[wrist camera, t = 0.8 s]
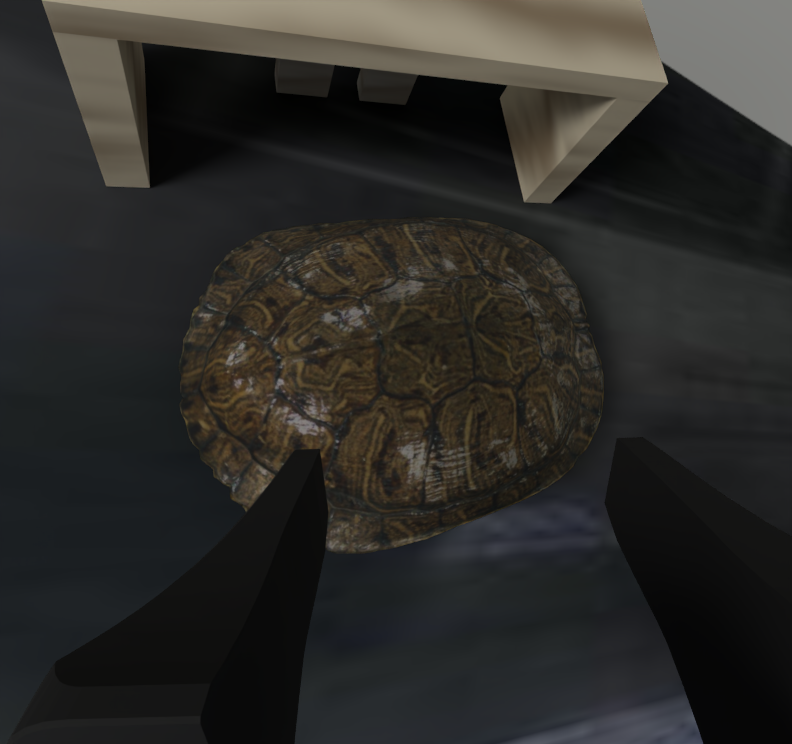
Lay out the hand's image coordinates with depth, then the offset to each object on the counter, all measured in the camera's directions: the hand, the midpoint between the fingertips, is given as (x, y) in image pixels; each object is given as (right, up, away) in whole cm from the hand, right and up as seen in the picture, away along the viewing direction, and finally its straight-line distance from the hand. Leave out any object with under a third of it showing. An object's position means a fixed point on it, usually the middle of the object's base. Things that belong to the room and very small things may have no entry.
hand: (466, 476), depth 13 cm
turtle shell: (-2, +2, +15) cm, 16 cm away
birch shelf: (-4, +17, +19) cm, 25 cm away
